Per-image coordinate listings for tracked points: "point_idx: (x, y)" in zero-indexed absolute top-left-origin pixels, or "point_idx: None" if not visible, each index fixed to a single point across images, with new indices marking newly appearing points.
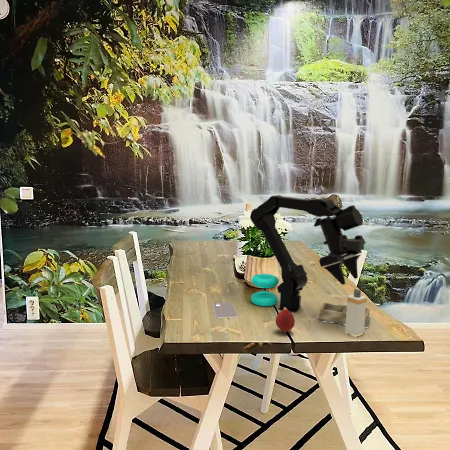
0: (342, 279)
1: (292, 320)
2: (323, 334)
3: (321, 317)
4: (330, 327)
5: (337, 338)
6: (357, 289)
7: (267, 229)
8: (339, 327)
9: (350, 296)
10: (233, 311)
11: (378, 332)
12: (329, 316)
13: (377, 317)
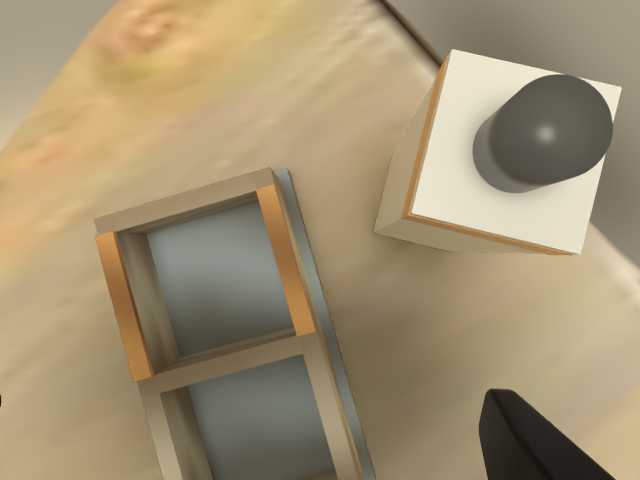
0: (581, 469)
1: None
2: (556, 347)
3: (360, 468)
4: (420, 362)
5: None
6: (517, 143)
7: None
8: (382, 317)
9: (572, 217)
10: None
11: (299, 102)
12: (346, 421)
13: (57, 197)
